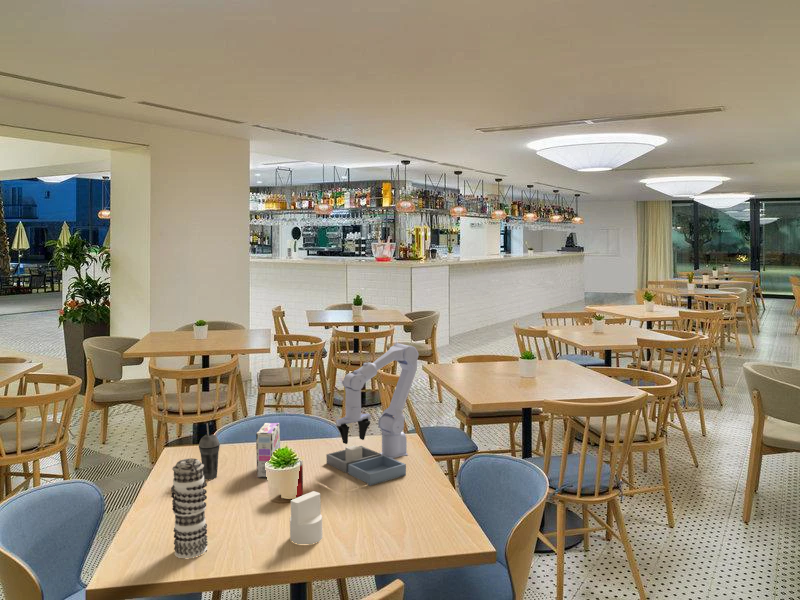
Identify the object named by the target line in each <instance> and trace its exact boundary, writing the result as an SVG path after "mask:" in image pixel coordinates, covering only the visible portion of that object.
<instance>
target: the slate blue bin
mask: <svg viewBox="0 0 800 600" xmlns="http://www.w3.org/2000/svg"><path fill="white" fill-rule="evenodd" d="M347 475H349V476H352V477H353V478H355V479H358V480H360V481H362V482H363V483H366V485H368V486H370V487H371V486H375V485H377V484H381V483H385V482H388V481H391V480H394V479H397V478H401V477H404V476H406V475H407V464H406V463H404V462H402V461H399V460H397V459H395V458H393V459H392V458H390V457H387V456H385V455H382V456H378V457H375V458H371V459H367V460H363V461H360V462H356V463H352V464H348V473H347Z"/></svg>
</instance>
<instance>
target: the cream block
mask: <svg viewBox="0 0 800 600" xmlns="http://www.w3.org/2000/svg"><path fill="white" fill-rule="evenodd" d="M359 446H360V445H356V444H353V445H351V446H346V447H345V449H344V450H345V451H346V462H350V461H353V460H357V459H361V458H362V448H361V447H359Z"/></svg>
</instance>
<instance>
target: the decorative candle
mask: <svg viewBox="0 0 800 600" xmlns="http://www.w3.org/2000/svg"><path fill="white" fill-rule="evenodd" d="M203 467H204V464H203V463H202V461H201V460H199V459H197V458H191V457H190V458H184V459H180V460H179V461H177V462H176V464H175V465H174V466H173V467H172V468H171V470H172V471H173V479H172V486H171V488H170V489H171V491H170V492H171V498H172V500H171V501H172V502H171V503H172V508H171V509H172V513H173V514H174V515H175V516H174V519H175V521H174V527H173V533H174V534H173V538H174V540H173V545H174V547H173V550H174V551H175V552H174V556H175V557H176V558H177V557H178V559H180V558H193V557H196V556H199V555H201V554H203V553H204V552H205V551H206V550H207V551H208V536H207V533H208V529H207V527H208V524H207V523H206V522H207V521H206V516H205V515H206V514H205V512H206V509H207V502H205V501H206V500H207V498H208V497H207V495H206V494H207V489H205V488H206V487H207V486H208V484H207V482H206V480H207V479H206V478H204V475H203ZM193 559H194V558H193Z"/></svg>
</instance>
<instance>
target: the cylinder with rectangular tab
mask: <svg viewBox="0 0 800 600" xmlns="http://www.w3.org/2000/svg"><path fill="white" fill-rule="evenodd" d="M321 502H322V501H321V493H320V492H318V491H314V490H312V491H310V492H307V493H305V494H302V496H300V497H298V498H295V499H292V500H290V518H289V540H290V539H291V541H293V542H294V543H297V544H313V543H316V542H318V543H320V542H321V541H322V540H323V515H322V514H321V513H322V511H321V509H322V508H321V505H322V504H321ZM321 539H322V540H321ZM320 540H321V541H320ZM291 541H290V542H291ZM319 541H320V542H319ZM316 544H317V543H316ZM313 545H314V544H313Z"/></svg>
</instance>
